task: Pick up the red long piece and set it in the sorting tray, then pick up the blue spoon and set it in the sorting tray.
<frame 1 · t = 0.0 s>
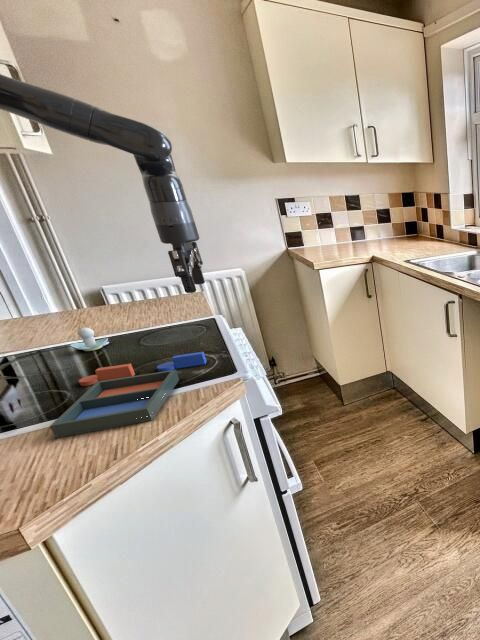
hand: (195, 288, 105), 16 cm above the worktop, tool pointing down, fingers open, 8 cm apart
sorting tray: (125, 405, 85), on the worktop
red long piece: (109, 379, 96), on the worktop
blue spoon: (184, 366, 102), on the worktop
pacifier: (94, 348, 113), on the worktop
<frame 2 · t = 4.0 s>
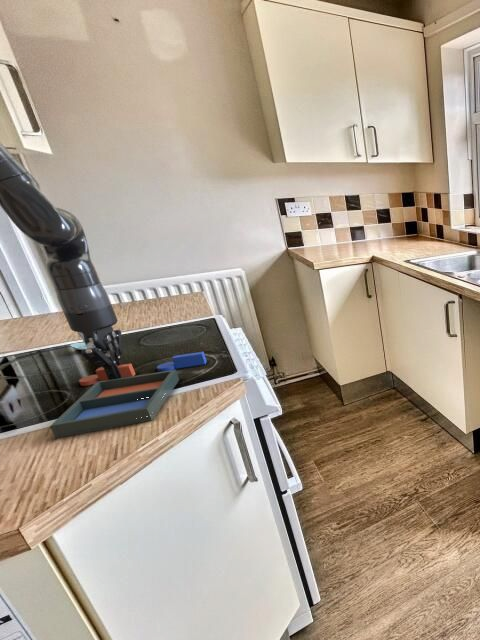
hand: (117, 377, 96), 0 cm above the worktop, tool pointing down, fingers closed on red long piece
red long piece: (110, 379, 96), on the worktop, touching gripper
everything else where it was.
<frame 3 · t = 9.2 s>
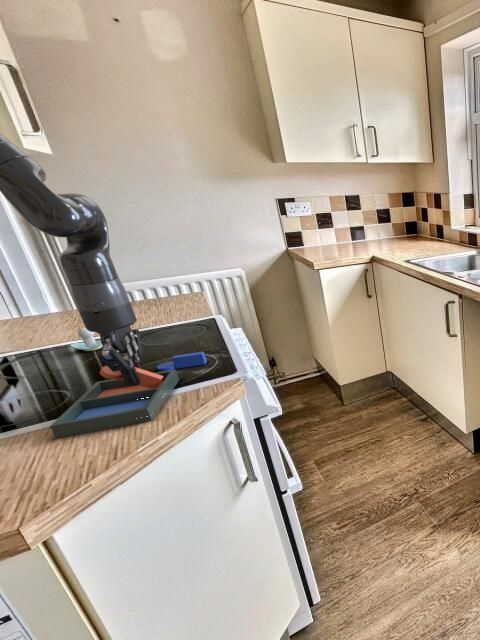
hand: (136, 382, 88), 3 cm above the worktop, tool pointing down, fingers closed
red long piece: (131, 380, 87), point 3 cm above the worktop, tilted 36°, touching sorting tray
everything else where it was.
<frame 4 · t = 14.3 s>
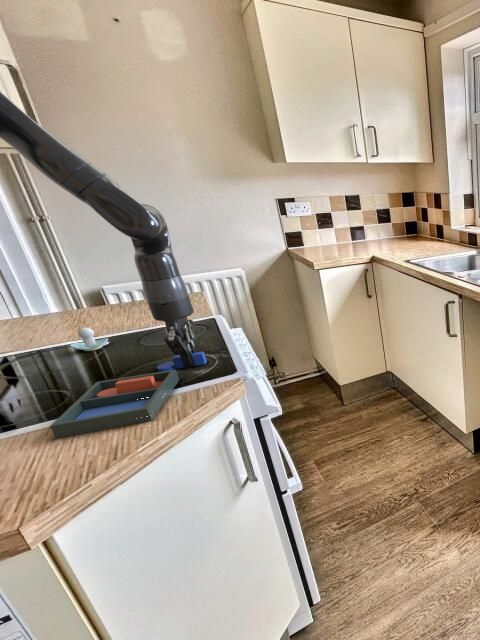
hand: (191, 365, 102), 0 cm above the worktop, tool pointing down, fingers closed on blue spoon
red long piece: (130, 392, 88), point 1 cm above the worktop, touching sorting tray
blue spoon: (184, 366, 102), on the worktop, touching gripper
everything else where it was.
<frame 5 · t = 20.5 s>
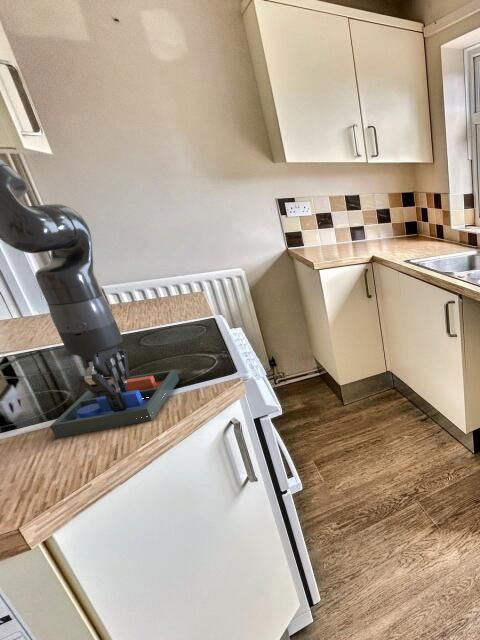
hand: (123, 407, 81), 2 cm above the worktop, tool pointing down, fingers closed on blue spoon
blue spoon: (113, 409, 81), point 2 cm above the worktop, touching gripper
everything else where it was.
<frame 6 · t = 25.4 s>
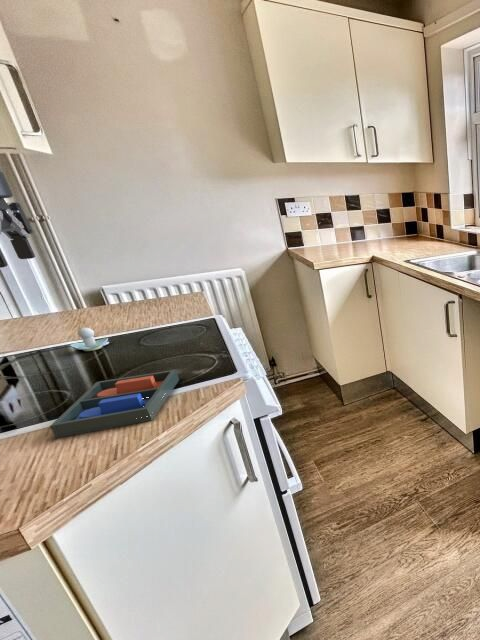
hand: (14, 262, 79), 28 cm above the worktop, tool pointing down, fingers open, 8 cm apart
blue spoon: (115, 412, 81), point 1 cm above the worktop, touching sorting tray
everything else where it was.
at the end: red long piece 0.4 cm from the target spot on the sorting tray, point 0.8 cm above the sorting tray's base; blue spoon 0.3 cm from the target spot on the sorting tray, point 0.8 cm above the sorting tray's base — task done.
